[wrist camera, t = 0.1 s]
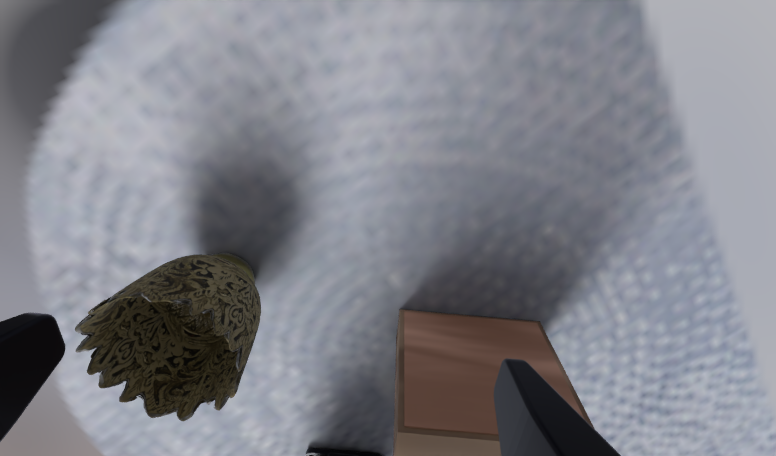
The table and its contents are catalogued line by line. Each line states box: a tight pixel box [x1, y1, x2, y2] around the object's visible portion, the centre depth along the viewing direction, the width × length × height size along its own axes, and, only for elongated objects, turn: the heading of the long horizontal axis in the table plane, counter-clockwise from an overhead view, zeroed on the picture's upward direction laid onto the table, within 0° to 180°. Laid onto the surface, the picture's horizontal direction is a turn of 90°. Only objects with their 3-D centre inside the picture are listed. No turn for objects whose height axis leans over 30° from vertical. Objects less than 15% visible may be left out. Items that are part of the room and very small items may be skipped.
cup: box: [75, 253, 261, 421], centre depth 21 cm, size 8×7×8 cm
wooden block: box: [393, 309, 594, 456], centre depth 21 cm, size 3×10×9 cm, turn 86°
